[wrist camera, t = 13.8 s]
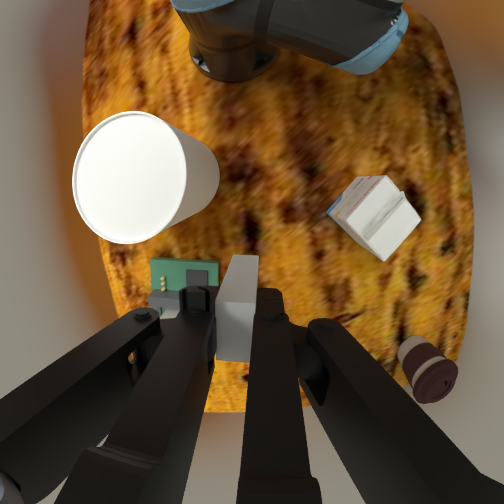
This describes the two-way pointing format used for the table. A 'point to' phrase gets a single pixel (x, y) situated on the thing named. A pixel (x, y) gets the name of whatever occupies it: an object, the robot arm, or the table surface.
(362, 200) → the ink box
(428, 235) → the table surface
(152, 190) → the canister
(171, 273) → the board
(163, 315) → the plug
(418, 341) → the coffee cup
